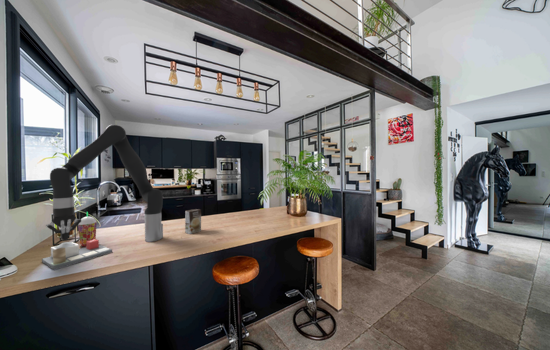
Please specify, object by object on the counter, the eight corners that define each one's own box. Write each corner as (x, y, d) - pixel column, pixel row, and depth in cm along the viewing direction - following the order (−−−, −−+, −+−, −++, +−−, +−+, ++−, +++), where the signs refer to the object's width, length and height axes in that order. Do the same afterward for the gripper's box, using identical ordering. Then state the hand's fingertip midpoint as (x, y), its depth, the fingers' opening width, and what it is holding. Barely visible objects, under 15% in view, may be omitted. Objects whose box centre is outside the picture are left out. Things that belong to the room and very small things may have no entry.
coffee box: (189, 234, 139) (189, 211, 138) (185, 232, 142) (184, 210, 142) (201, 231, 146) (201, 209, 146) (196, 229, 150) (196, 208, 150)
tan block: (65, 259, 96) (64, 247, 96) (66, 261, 94) (65, 249, 93) (52, 262, 93) (52, 249, 93) (53, 265, 91) (53, 252, 90)
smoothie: (75, 246, 117) (74, 212, 117) (92, 241, 125) (91, 210, 124) (83, 248, 114) (82, 213, 114) (100, 243, 122) (99, 211, 122)
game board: (98, 246, 117) (97, 236, 117) (112, 252, 109) (112, 240, 109) (41, 261, 97) (41, 249, 97) (54, 269, 89) (53, 256, 89)
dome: (70, 250, 105) (70, 239, 105) (75, 253, 103) (75, 241, 102) (54, 255, 100) (54, 243, 100) (58, 257, 97) (58, 245, 97)
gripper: (78, 203, 108) (79, 235, 109) (41, 208, 97) (43, 243, 97) (84, 205, 105) (85, 237, 105) (47, 209, 93) (48, 245, 94)
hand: (65, 239), depth 101 cm, fingers closed
